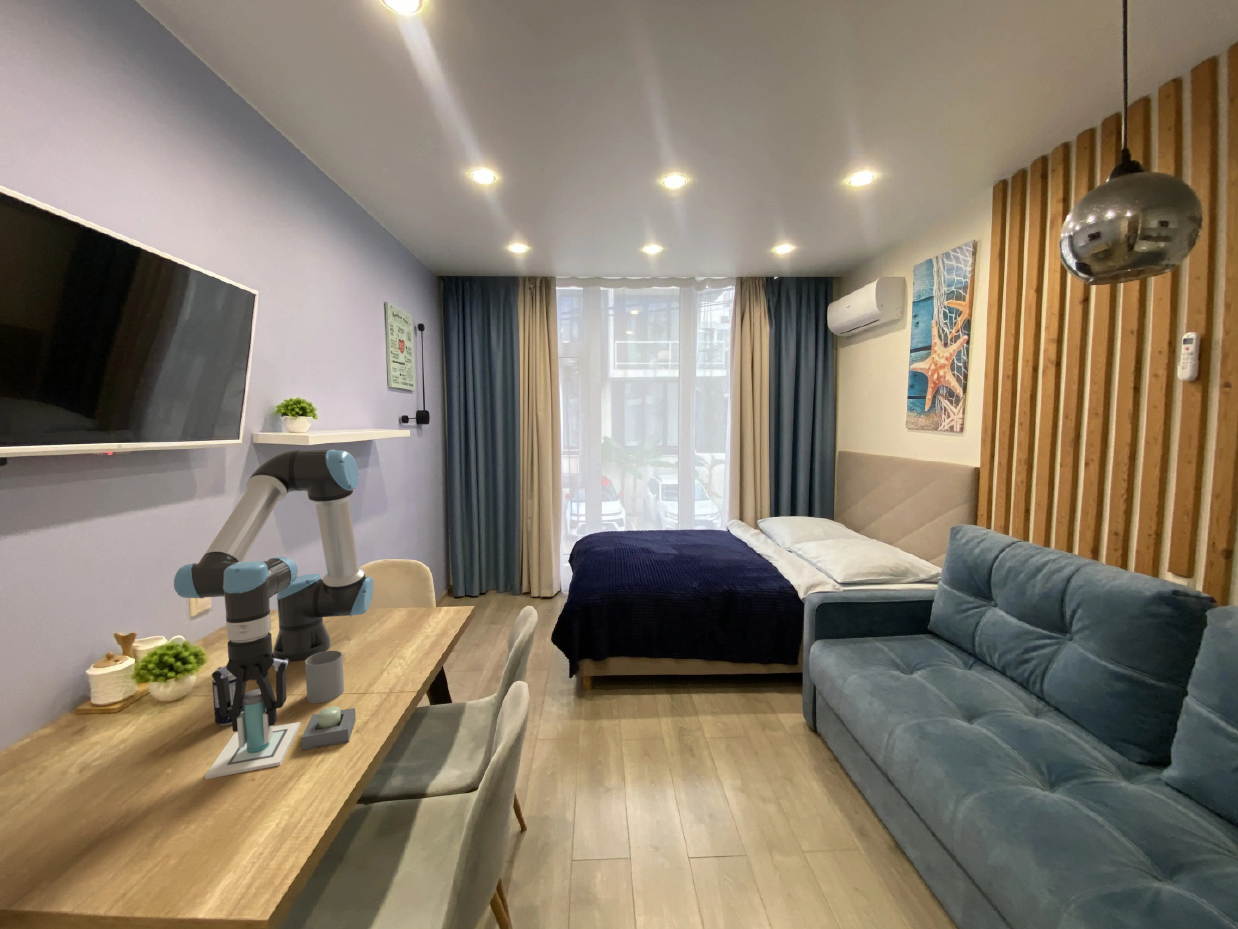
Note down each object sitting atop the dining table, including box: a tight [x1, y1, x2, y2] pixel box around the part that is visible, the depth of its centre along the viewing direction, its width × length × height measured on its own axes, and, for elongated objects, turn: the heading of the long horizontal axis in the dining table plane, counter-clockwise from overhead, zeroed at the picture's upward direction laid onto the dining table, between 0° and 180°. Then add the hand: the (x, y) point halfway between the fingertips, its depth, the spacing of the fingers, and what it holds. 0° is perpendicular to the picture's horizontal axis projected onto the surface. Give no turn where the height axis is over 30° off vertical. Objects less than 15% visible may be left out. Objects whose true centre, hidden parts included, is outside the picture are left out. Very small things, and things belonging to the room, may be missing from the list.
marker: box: [242, 688, 270, 753], centre depth 109 cm, size 4×4×12 cm
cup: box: [304, 650, 345, 704], centre depth 132 cm, size 8×8×10 cm
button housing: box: [301, 707, 356, 751], centre depth 115 cm, size 9×9×3 cm
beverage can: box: [212, 671, 244, 727], centre depth 120 cm, size 6×6×12 cm
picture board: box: [204, 721, 302, 780], centre depth 110 cm, size 15×13×1 cm
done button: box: [317, 706, 341, 729], centre depth 115 cm, size 4×4×3 cm
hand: (256, 741), depth 108 cm, fingers closed on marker, 4 cm apart
